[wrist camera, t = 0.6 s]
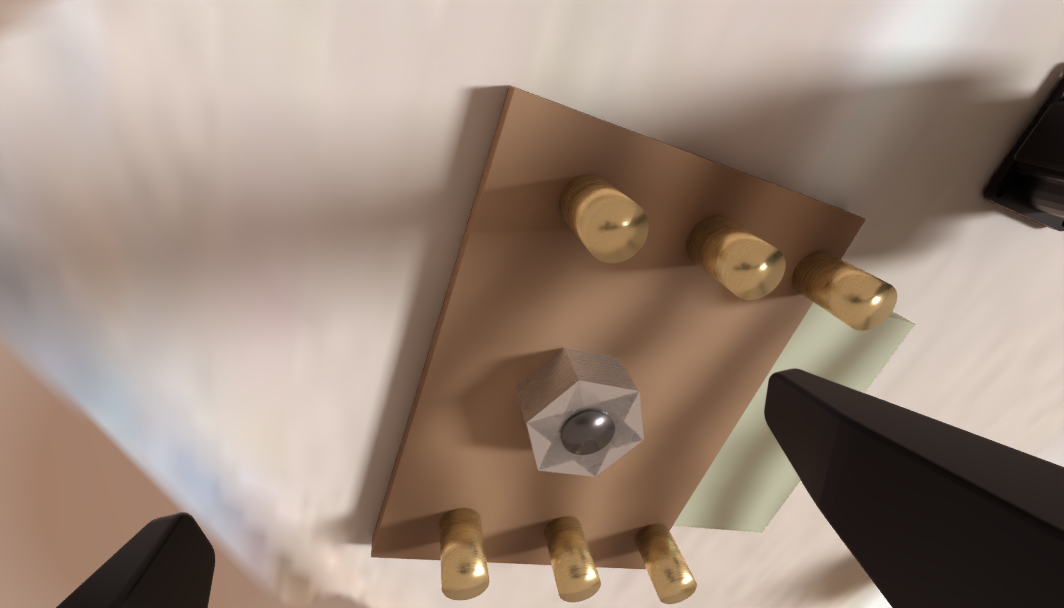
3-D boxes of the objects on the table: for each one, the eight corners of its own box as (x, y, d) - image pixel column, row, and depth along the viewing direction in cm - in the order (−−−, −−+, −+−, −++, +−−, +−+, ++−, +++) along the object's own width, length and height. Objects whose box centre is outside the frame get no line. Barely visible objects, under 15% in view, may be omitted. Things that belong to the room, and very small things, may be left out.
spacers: (843, 257, 23) (907, 289, 20) (659, 548, 31) (685, 604, 28) (571, 166, 19) (600, 191, 16) (434, 535, 26) (436, 599, 23)
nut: (645, 363, 24) (669, 398, 22) (604, 442, 26) (623, 482, 24) (534, 341, 22) (547, 376, 20) (499, 428, 24) (508, 469, 22)
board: (943, 247, 26) (965, 256, 25) (723, 557, 35) (732, 573, 34) (509, 85, 18) (515, 87, 17) (372, 537, 27) (370, 557, 26)
